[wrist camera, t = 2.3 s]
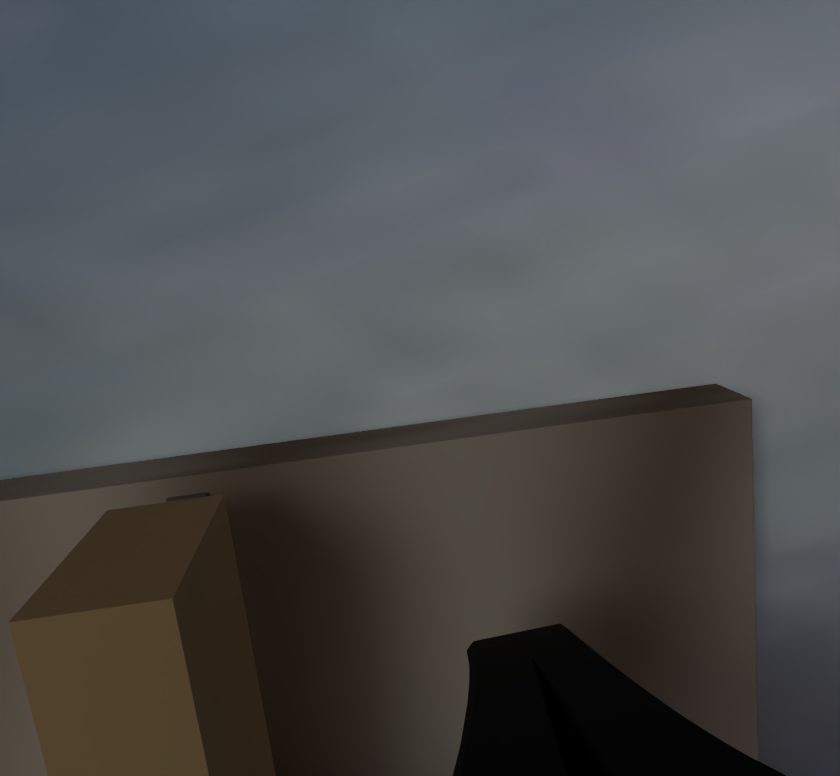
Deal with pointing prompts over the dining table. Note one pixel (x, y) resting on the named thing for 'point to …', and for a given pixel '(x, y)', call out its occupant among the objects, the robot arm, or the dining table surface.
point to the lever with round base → (145, 650)
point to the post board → (446, 567)
